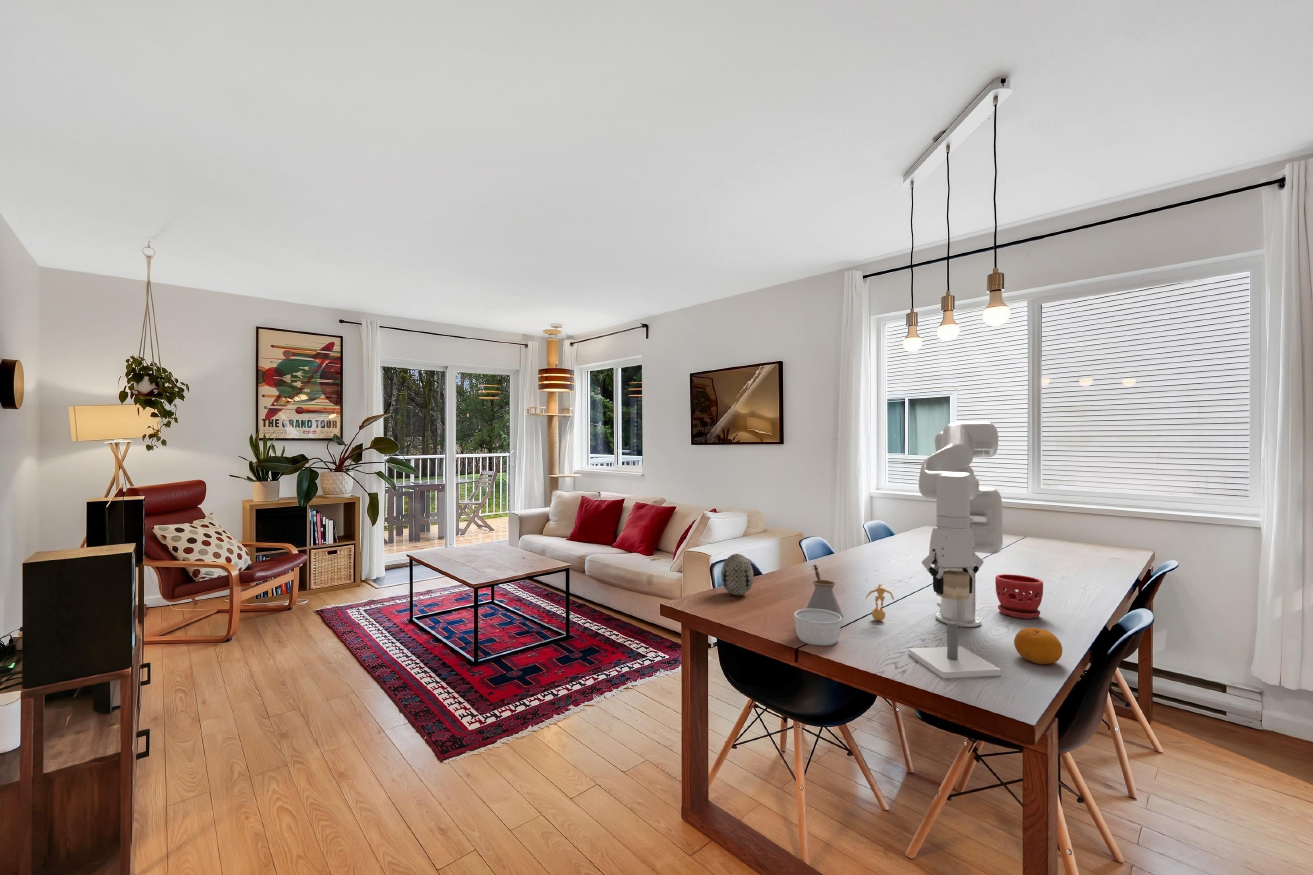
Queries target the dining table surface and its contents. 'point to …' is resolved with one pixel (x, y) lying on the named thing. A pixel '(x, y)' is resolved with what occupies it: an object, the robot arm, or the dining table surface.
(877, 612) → the figurine
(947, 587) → the bead
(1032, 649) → the fruit
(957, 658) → the post board
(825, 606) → the coffee pot
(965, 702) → the dining table surface
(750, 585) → the decorative egg
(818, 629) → the ramekin
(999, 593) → the plant pot
